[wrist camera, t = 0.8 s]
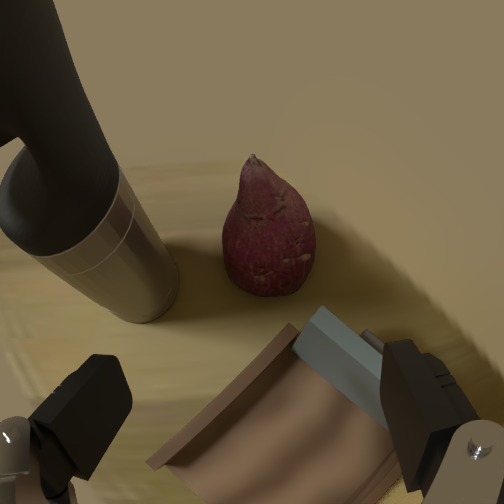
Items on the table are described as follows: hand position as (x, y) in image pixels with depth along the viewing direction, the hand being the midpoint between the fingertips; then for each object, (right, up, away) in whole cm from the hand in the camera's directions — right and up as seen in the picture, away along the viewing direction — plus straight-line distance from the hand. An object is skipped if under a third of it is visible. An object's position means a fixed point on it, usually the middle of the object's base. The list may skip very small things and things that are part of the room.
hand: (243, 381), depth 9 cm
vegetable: (+2, +3, +27) cm, 27 cm away
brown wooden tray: (+4, -16, +18) cm, 24 cm away
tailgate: (+10, -9, +18) cm, 23 cm away
